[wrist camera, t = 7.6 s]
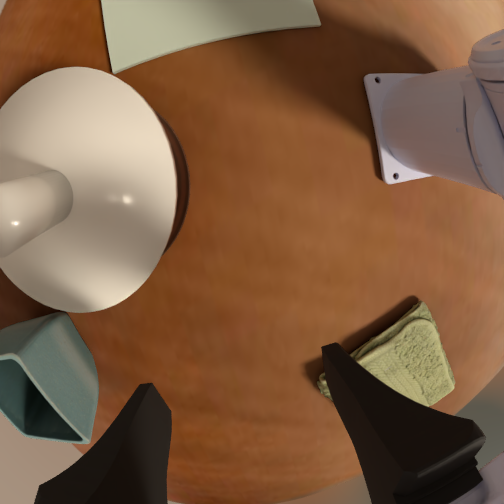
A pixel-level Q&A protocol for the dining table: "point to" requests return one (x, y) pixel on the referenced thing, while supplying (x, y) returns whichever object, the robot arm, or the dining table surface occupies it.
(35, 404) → the flower pot
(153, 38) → the plate
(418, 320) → the washcloth
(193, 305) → the dining table surface
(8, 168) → the lid
